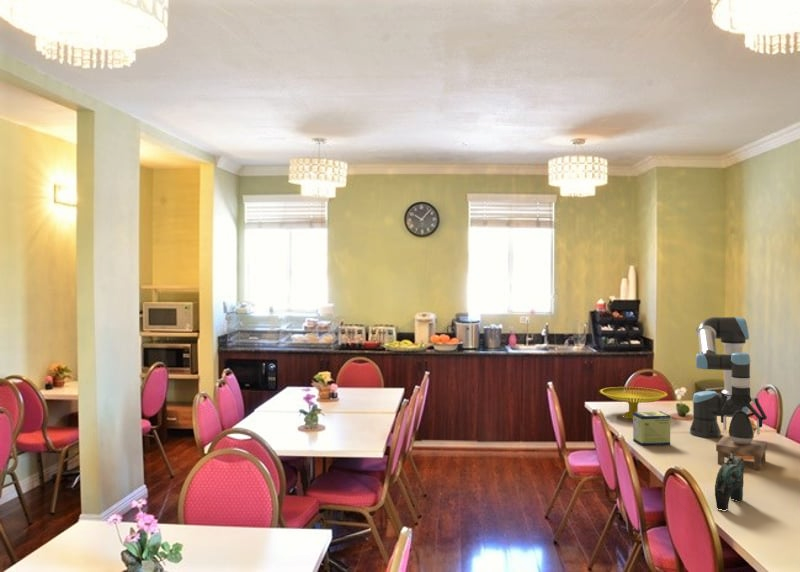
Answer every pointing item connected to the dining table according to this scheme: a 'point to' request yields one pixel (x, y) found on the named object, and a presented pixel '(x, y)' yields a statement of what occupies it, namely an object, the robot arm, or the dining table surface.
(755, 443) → the walnut footstool
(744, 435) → the dark grey egg shape
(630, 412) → the cake stand
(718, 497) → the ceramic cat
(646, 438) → the protein box
